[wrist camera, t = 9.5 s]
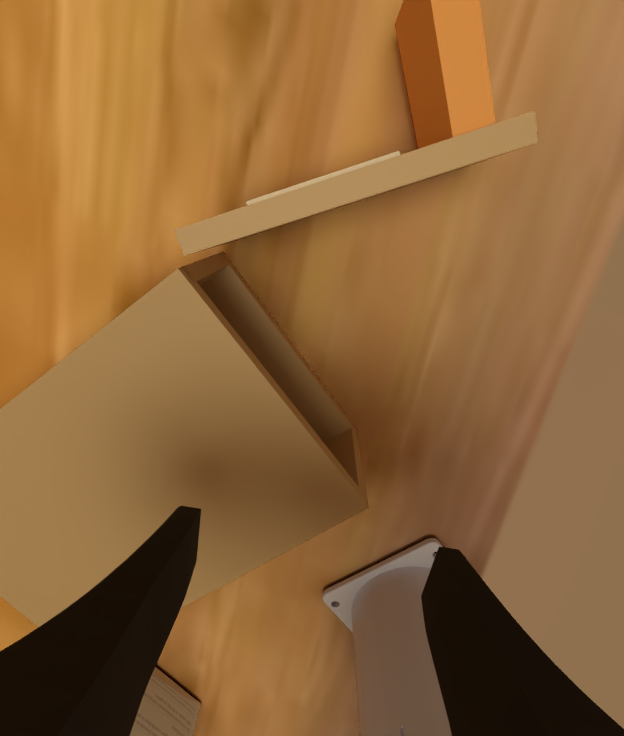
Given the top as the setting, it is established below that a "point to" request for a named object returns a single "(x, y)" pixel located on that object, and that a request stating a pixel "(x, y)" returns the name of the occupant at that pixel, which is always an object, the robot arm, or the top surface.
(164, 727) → the supplement box
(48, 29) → the top surface
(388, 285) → the top surface
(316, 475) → the kraft carton
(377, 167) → the carton flap
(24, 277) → the top surface
